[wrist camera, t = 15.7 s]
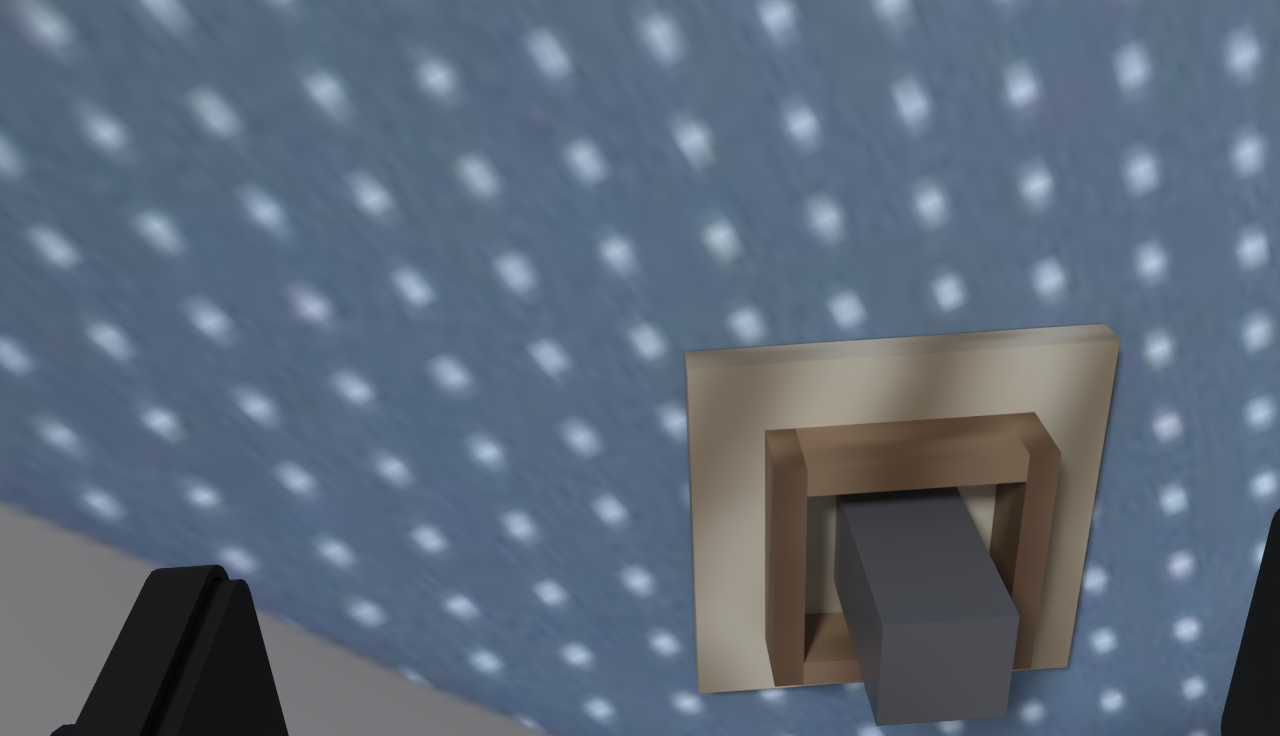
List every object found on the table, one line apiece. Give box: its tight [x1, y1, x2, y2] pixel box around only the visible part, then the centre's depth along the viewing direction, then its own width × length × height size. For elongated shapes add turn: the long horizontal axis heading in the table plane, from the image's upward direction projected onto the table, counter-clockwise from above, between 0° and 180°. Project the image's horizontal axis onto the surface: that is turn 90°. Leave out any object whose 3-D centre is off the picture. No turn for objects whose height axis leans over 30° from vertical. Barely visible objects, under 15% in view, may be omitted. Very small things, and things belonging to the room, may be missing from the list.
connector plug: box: [834, 486, 1020, 726], centre depth 39 cm, size 4×4×7 cm
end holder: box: [684, 324, 1120, 694], centre depth 41 cm, size 14×14×4 cm
